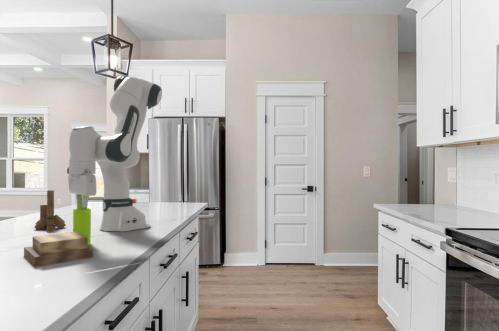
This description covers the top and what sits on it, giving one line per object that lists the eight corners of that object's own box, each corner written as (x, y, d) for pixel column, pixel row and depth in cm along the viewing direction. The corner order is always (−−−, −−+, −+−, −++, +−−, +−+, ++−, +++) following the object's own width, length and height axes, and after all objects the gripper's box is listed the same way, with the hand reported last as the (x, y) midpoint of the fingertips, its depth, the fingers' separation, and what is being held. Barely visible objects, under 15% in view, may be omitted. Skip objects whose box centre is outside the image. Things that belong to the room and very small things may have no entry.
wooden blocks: (66, 231, 154) (66, 191, 154) (33, 233, 148) (34, 192, 148) (64, 223, 176) (64, 188, 176) (36, 225, 169) (36, 189, 170)
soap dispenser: (96, 243, 130) (96, 190, 130) (81, 247, 123) (82, 191, 123) (83, 241, 132) (84, 189, 132) (69, 245, 125) (69, 191, 125)
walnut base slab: (77, 250, 121) (77, 240, 121) (92, 259, 110) (92, 248, 110) (23, 258, 110) (24, 247, 110) (34, 269, 99) (34, 257, 99)
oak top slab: (76, 241, 119) (76, 231, 119) (87, 248, 109) (87, 237, 110) (32, 247, 111) (32, 236, 111) (40, 254, 101) (40, 243, 101)
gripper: (101, 169, 122) (101, 208, 122) (82, 169, 137) (82, 203, 137) (82, 169, 117) (82, 209, 117) (65, 169, 132) (65, 204, 132)
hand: (82, 206), depth 127 cm, fingers closed on soap dispenser, 3 cm apart
